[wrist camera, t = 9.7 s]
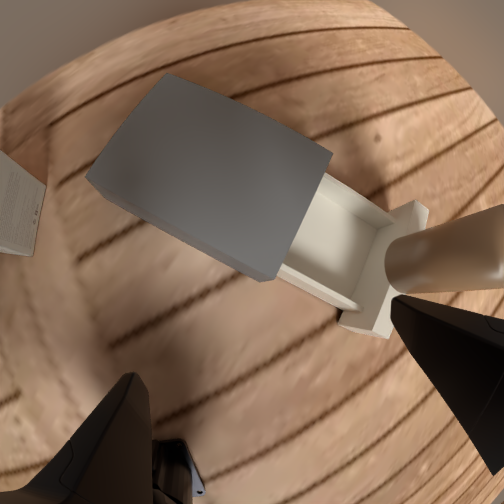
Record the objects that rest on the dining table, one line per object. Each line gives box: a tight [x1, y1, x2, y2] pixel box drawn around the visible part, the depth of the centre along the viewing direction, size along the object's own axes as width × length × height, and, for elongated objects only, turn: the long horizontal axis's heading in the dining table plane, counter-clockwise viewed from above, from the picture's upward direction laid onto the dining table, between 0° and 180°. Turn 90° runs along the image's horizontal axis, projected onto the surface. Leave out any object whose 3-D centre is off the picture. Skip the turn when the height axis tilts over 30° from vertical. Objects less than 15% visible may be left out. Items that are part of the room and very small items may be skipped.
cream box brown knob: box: [276, 173, 504, 339], centre depth 16 cm, size 16×10×14 cm, turn 63°
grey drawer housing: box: [85, 73, 333, 282], centre depth 20 cm, size 14×10×4 cm
